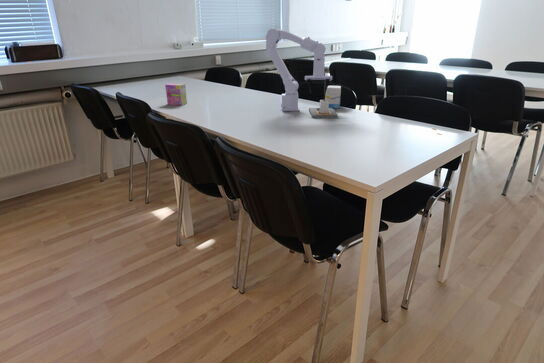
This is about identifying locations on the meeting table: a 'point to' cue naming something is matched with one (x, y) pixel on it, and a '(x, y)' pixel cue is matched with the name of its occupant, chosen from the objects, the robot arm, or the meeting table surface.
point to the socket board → (315, 114)
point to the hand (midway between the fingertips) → (317, 93)
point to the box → (176, 94)
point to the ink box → (333, 96)
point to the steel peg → (324, 106)
